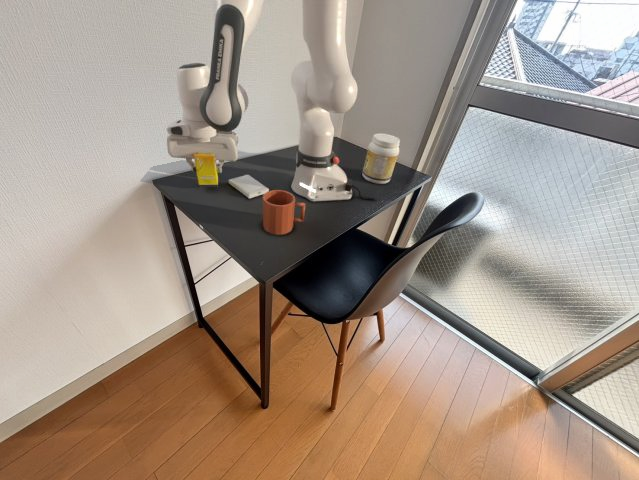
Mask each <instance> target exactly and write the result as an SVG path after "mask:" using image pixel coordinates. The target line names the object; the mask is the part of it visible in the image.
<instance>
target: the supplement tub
mask: <svg viewBox="0 0 639 480" xmlns="http://www.w3.org/2000/svg"><path fill="white" fill-rule="evenodd" d="M371 140H372V141H370V143H369V144H368V146H367V152H366V156H365V160H364V165H363V168H362V174H361V175H362V177H363V178H364V179H365V180H366V181H367V182H370V183H372V184H375V185H376V184H377V185H384V184H387V183H389V182H390V181H391V180H392V176H393V172H394V169H395V167H396V166H395V165H396V163H397V159H398V157H399V155H400V148H399V147H400V142H401V139H400V138H399V137H397V136H395V135H392V134H388V133H382V132H381V133H375V134H373V136H372V138H371Z"/></svg>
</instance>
